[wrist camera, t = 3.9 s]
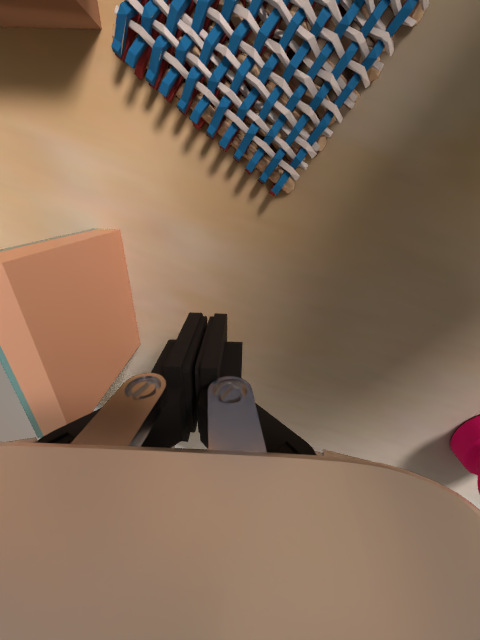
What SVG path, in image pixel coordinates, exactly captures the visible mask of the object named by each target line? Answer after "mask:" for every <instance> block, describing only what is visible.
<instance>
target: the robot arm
mask: <svg viewBox="0 0 480 640" xmlns="http://www.w3.org/2000/svg"><path fill="white" fill-rule="evenodd" d="M241 370H242V342H227V314H215V315H214V317H211V316H210V318H209V322H208V325H207V316H203V314H202V313H189V315H188V317H187V319H186V321H185V323H184V325H183V327H182V329H181V331H180V333H179V336H178V338H177V340H169V341H168V342H167V344H166V346H165V348H164V350H163V351H162V353H161V355H160V357H159V359H158V361H157V363H156V364H155V366H154V368H153V370H152V372H151V373H144V374H139V375H136V376H133V377H132V378H130V379H128V380H127V381H126V382H125V383H123V384H122V386H121V387H120V388H119V389H118V390H117V391H116V392H115V394H114V395H113V396H112V397H111V398H110V399H109V400H108V401H107V403H106V404H105V405H104V406H103V407H102V408H100V409H98V410H97V411H94V412H92V413H90V414H88V415H85V416H83V417H81V418H79V419H77V420H75V421H73V422H71V423H69V424H67V425H65V426H62V427H60V428H58V429H56V430H54V431H52V432H50V433H49V434H47V435H45V436H43V437H42V438H41V439H39V440H38V441H37V439H36V438H30V439H22V440H15V441H9V442H0V640H480V510H479V509H478V508H477V507H476V506H475V505H473V504H472V503H471V502H470V501H468V500H467V499H465V498H464V497H462V496H461V495H459V494H458V493H456V492H454V491H453V490H451V489H449V488H447V487H445V486H443V485H441V484H439V483H437V482H435V481H433V480H431V479H428V478H425V477H423V476H420V475H418V474H415V473H412V472H410V471H407V470H405V469H401V468H397V467H393V466H390V465H386V464H382V463H377V462H372V461H368V460H364V459H360V458H356V457H352V456H348V455H344V454H340V453H336V452H332V451H328V450H323V453H320V452H316V451H314V450H313V448H312V447H311V446H310V445H309V444H308V443H307V442H306V441H304V440H303V439H302V438H300V437H299V436H298V435H297V434H295V433H294V432H293V431H291V430H290V429H289V428H287V427H286V426H285V425H283V424H282V423H281V422H280V421H278V420H277V419H276V418H274V417H273V416H272V415H270V414H269V413H268V412H266V411H265V410H264V409H263V408H261V407H260V406H259V405H257V404H256V403H255V401H254V396H253V392H252V388H251V386H250V384H249V383H248V382H247V381H246V380H244V379H242V378H241ZM197 421H198V430H199V433H200V439H201V442H202V443H203V444H204V445H205V446H206V447H207V448H208V450H205V449H182V448H175V447H174V445H176V444H177V443H179V442H180V441H186V442H188V439H189V435H190V432H195V430H196V426H197Z"/></svg>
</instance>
